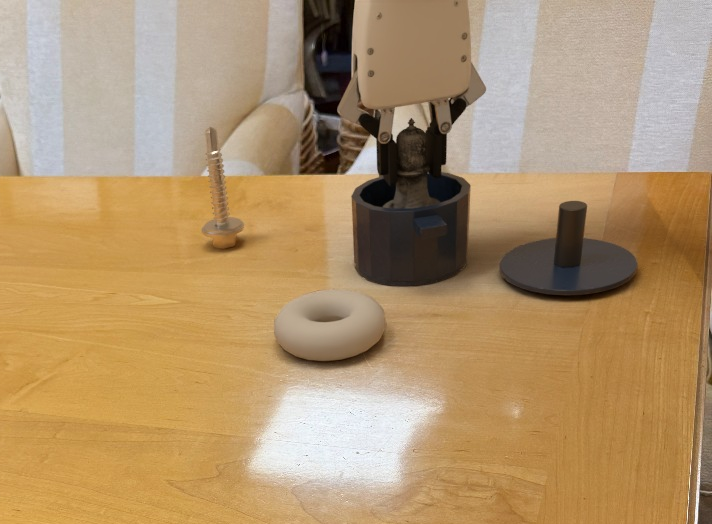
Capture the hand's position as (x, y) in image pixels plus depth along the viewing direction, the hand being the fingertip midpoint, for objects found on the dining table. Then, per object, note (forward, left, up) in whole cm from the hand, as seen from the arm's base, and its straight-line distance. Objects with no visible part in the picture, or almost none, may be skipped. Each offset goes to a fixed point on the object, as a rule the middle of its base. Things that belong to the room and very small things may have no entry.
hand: (411, 175), depth 88 cm
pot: (0, 0, -9) cm, 9 cm away
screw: (+18, -13, -9) cm, 24 cm away
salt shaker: (0, 0, -7) cm, 7 cm away
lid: (-13, +8, -8) cm, 17 cm away
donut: (+11, +14, -9) cm, 20 cm away
